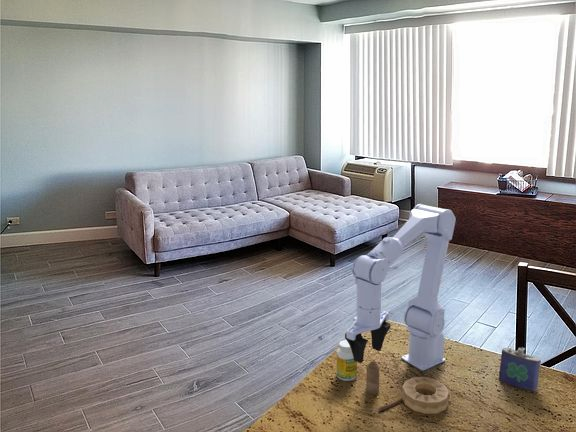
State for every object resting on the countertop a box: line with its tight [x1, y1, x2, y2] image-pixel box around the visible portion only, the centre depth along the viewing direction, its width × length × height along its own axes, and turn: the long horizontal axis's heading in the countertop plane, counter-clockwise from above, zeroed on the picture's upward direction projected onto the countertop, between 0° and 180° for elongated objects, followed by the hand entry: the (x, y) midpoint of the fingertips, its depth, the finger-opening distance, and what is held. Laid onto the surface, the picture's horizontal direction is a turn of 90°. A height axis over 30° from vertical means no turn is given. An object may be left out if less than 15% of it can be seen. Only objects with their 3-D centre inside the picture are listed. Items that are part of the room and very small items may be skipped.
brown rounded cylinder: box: [365, 360, 381, 396], centre depth 125 cm, size 3×3×8 cm
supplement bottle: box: [336, 339, 358, 382], centre depth 132 cm, size 5×5×10 cm
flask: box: [498, 346, 542, 393], centre depth 126 cm, size 9×3×11 cm, turn 50°
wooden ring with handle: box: [378, 376, 450, 415], centre depth 120 cm, size 18×10×3 cm, turn 123°
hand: (367, 355), depth 124 cm, fingers open, 7 cm apart
